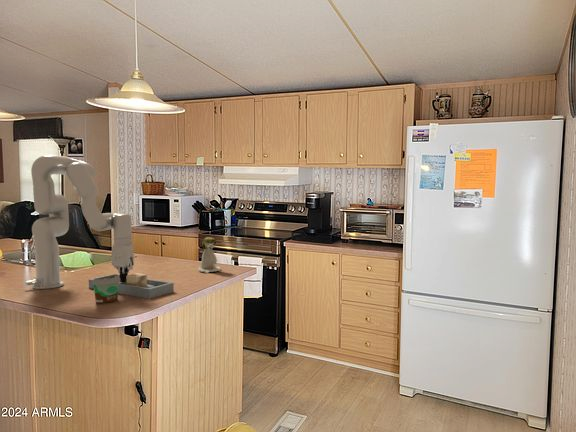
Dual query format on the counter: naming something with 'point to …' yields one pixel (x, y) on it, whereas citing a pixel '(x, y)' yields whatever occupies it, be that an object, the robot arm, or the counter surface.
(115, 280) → the food container
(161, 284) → the tray
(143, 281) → the maple block
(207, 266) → the grey figurine
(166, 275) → the counter surface
